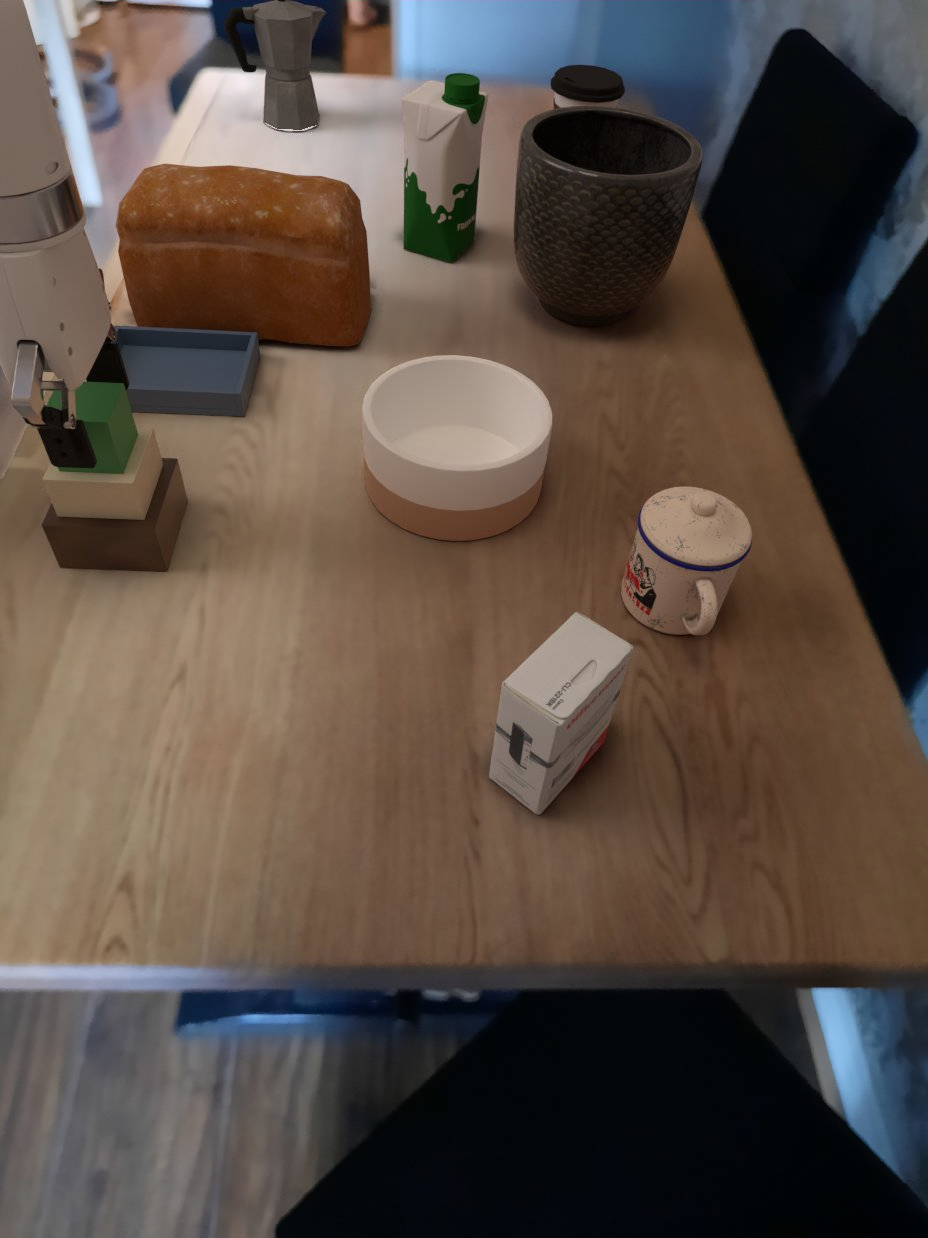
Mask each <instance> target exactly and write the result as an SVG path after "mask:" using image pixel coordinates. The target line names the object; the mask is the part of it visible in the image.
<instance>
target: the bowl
mask: <svg viewBox="0 0 928 1238" xmlns="http://www.w3.org/2000/svg"><path fill="white" fill-rule="evenodd" d="M361 424H362V425H361V426H362V427H361V428H362V449H363V469H364V470H363V471H364V484H365V485H364V487H365V489H366V492H367V495H368V497H369V499H370V501H371V502H372V504H373V505H374V507H375V508H376V509H377V511H378V512H379V513H381V514H382V515H383V516H384V517H385V518H386V519H387V520H388V521H390V522H391V523H393V524H395V525H397V526H398V527H400V528H401V529H402V530H406V531H408V532H410V533H413V534H415V535H418V536H421V537H426V538H431V539H434V540H440V541H451V542H459V541H460V542H461V541H465V542H466V541H477V540H482V539H487V538H491V537H494V536H496V535H499V534H502V533H505V532H507V531H509V530H510V529H513V528H514V527H516V526H517V525H519V524H520V523H521V522H522V521H523V520H525V519H526V518H527V517H528V516H529V515H531V512H532V511H533V509H534V508H535V507H536V505H537V503H538V501H539V497H540V494H541V491H542V485H543V480H544V473H545V468H546V464H547V459H548V454H549V447H550V442H551V436H552V432H553V431H552V429H553V411H552V408H551V405H550V401H549V400H548V398H547V396H546V394H544V392H543V390H542V389H541V388H540V387H539V386H538V385H537V383H535V382H534V381H533V380H531V379H530V378H528V377H527V376H526V375H524V374H523V373H521V372H520V371H518V370H516V369H514V368H513V367H512V368H511V367H510V366H507V365H505V364H503V363H500V362H497V361H494V360H490V359H486V358H481V357H477V356H469V355H458V354H453V355H452V354H446V355H445V354H444V355H441V354H440V355H439V354H438V355H433V356H432V355H431V356H425V357H420V358H416V359H411V360H408V361H405V362H403V363H400V364H398V365H396V366H393V367H392V368H390V369H388V370H387V371H384V372H383V373H382V374H380V375H379V376H378V377H377V378H376V379H375V380H374V381H373V382H372V383H371V384H370V386H369V388H368V389H367V391H366V393H365V394H364V398H363V401H362V405H361Z"/></svg>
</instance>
